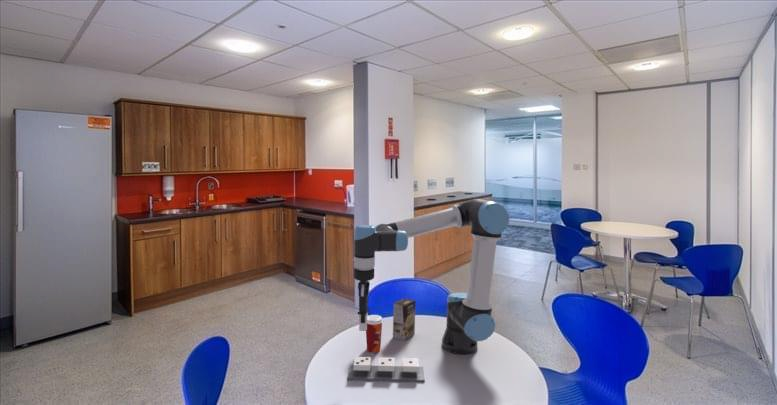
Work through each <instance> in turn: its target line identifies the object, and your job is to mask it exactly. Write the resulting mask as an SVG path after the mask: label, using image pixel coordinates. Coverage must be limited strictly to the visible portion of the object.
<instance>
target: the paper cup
mask: <svg viewBox="0 0 777 405" xmlns="http://www.w3.org/2000/svg"><path fill="white" fill-rule="evenodd" d="M383 323H384V320H383V317H382V316H381V315H379V314H370V315H367V331H365V336H366V337H365V338H366V350H367V352H368V353H372V354H373V353H374V354H376V353H378V352H380V351H381V345H382V331H383Z"/></svg>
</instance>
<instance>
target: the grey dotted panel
mask: <svg viewBox="0 0 777 405" xmlns="http://www.w3.org/2000/svg"><path fill="white" fill-rule="evenodd" d="M353 365H354V364H351V365H350V366H349V370H348V374H347V375H348V376H347V381H366V382H367V381H368V382H404V383H405V382H407V383H425V381H426V380H425V371H424V366H419V372H405V371H403V366H402V365H401V366H399V365H398V366H396V365H395V366H394V371H378V365H371V366H370V371H364V370H353Z"/></svg>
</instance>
